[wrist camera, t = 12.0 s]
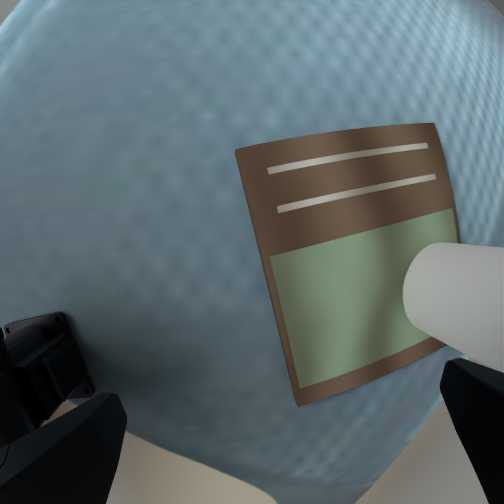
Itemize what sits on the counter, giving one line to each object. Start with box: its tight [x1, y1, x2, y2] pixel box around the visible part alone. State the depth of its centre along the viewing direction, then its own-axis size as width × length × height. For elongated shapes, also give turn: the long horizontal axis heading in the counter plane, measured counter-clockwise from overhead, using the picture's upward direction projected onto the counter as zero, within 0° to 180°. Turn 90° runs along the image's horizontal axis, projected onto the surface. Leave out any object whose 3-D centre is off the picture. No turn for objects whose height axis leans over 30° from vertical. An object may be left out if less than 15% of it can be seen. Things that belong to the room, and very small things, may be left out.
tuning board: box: [235, 123, 461, 407], centre depth 19 cm, size 15×17×1 cm
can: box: [403, 242, 504, 373], centre depth 13 cm, size 6×6×12 cm
